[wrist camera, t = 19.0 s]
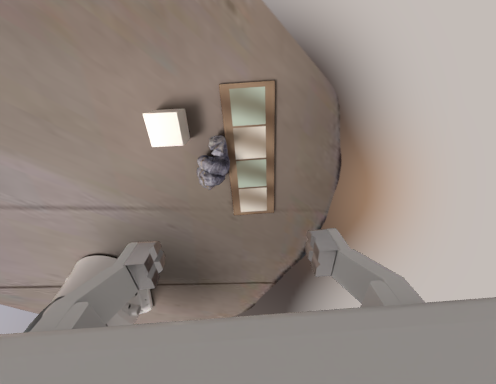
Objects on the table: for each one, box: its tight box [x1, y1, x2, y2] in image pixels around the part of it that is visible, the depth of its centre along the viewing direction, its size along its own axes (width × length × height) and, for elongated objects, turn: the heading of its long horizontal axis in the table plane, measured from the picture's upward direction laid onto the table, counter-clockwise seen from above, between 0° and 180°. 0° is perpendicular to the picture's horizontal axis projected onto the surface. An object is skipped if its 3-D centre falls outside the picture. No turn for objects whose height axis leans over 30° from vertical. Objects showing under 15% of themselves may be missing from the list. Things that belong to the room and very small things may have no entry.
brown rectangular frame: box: [219, 81, 275, 215], centre depth 33 cm, size 23×8×1 cm, turn 3°
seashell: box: [197, 135, 230, 190], centre depth 31 cm, size 5×5×10 cm
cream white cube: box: [143, 109, 190, 147], centre depth 29 cm, size 4×4×4 cm
